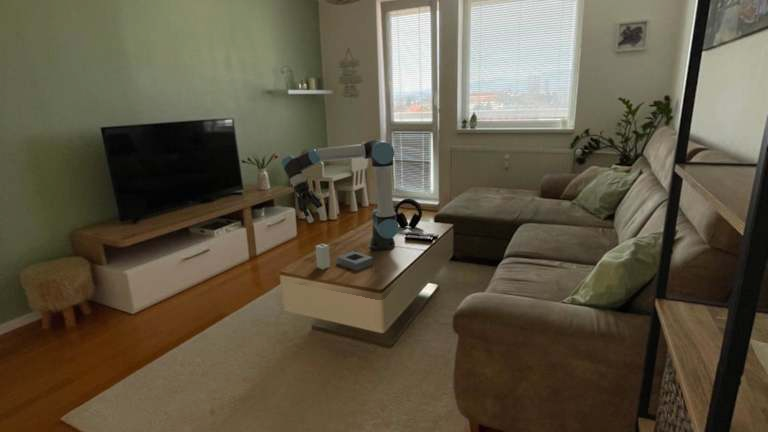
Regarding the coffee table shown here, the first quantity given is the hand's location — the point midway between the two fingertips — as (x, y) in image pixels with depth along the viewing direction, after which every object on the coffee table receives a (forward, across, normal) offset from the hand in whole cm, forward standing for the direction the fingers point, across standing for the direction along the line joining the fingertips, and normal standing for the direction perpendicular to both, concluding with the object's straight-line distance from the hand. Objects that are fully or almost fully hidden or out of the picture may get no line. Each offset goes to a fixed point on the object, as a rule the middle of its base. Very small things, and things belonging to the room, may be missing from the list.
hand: (318, 220), depth 220 cm
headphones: (+24, -87, +12) cm, 91 cm away
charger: (+22, -5, -13) cm, 26 cm away
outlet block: (+29, -13, 0) cm, 32 cm away
